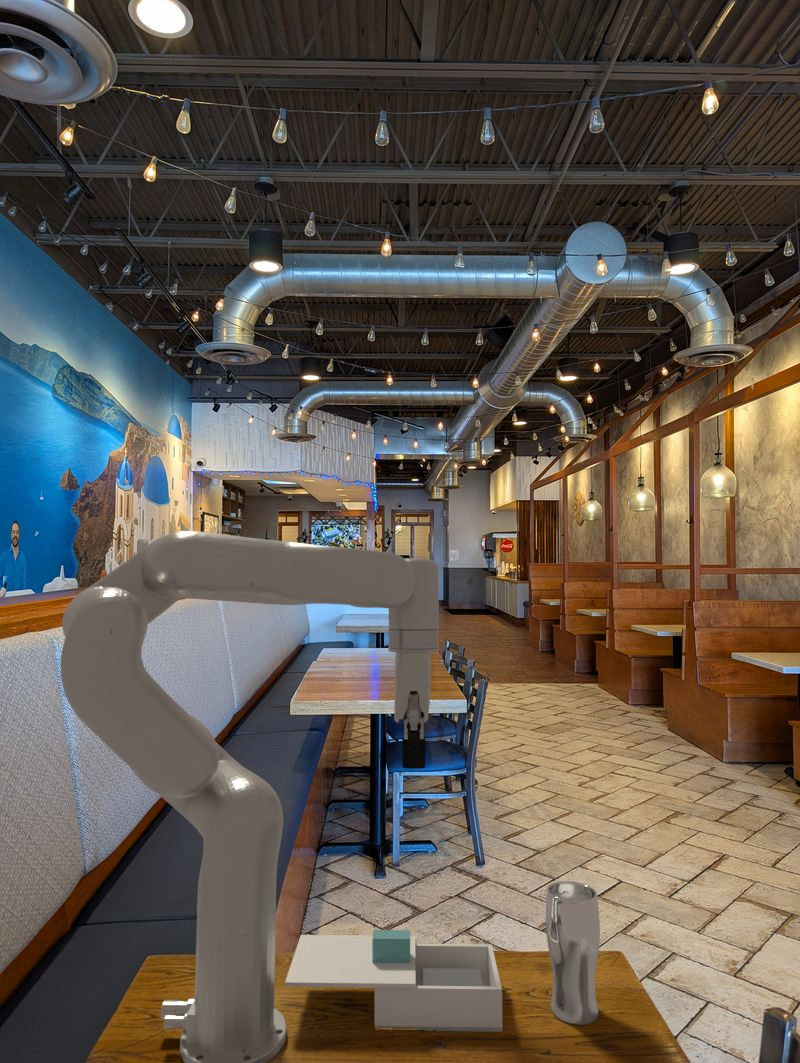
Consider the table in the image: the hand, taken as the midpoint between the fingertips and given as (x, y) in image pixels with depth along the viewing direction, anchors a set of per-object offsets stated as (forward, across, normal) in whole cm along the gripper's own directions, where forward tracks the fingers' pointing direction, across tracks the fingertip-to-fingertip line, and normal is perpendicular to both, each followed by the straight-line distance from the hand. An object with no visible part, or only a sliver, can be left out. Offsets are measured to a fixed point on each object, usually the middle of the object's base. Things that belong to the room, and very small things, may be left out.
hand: (413, 759), depth 99 cm
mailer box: (+30, +6, +3) cm, 31 cm away
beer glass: (+31, +7, +21) cm, 38 cm away
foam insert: (+30, +6, +5) cm, 31 cm away
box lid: (+25, +6, -8) cm, 27 cm away
